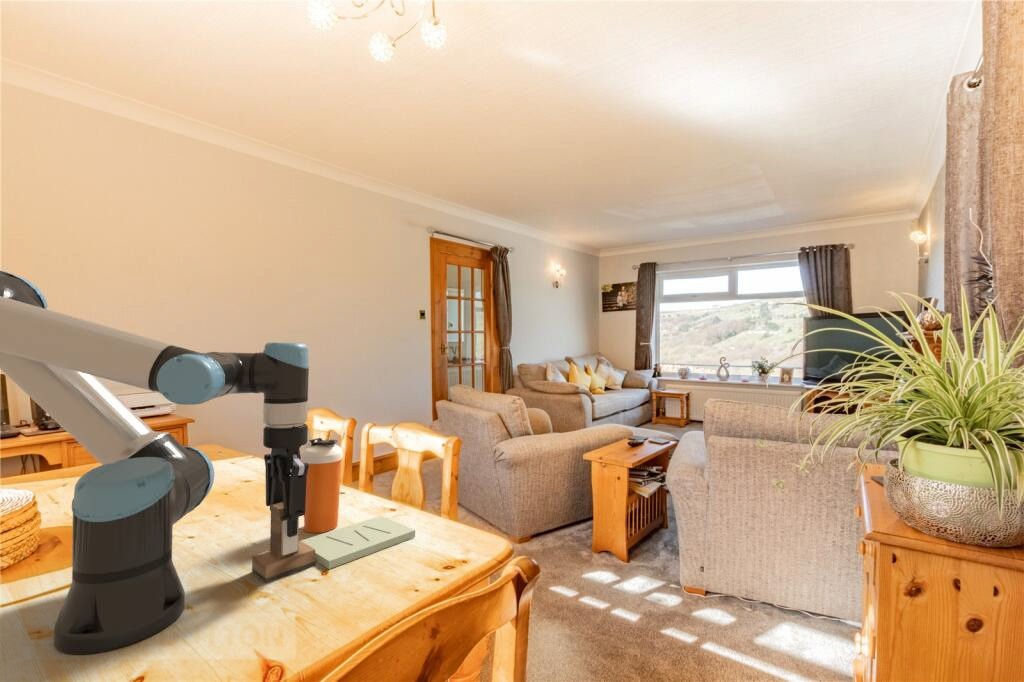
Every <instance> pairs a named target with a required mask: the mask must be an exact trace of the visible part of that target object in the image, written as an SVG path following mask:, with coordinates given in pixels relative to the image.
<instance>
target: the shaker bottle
mask: <svg viewBox="0 0 1024 682" xmlns="http://www.w3.org/2000/svg"><path fill="white" fill-rule="evenodd" d="M336 443H338V440H337V439H323V438H322V437H317V438H312V439H310V440H308V441H307V443H306V444H305V445H303V446H304V449H303V450H302V451H301V452H300V455H301V462H302V463H308V465H309V468H308V472H307V479H306V504H305V515H303V523H304V527H303V528H304V531H306V532H307V533H310V534H311V533H312V534H319V533H321V534H323V533H327V532H330V531H333V530H335V529H336V528H337V527H338V524H339V523H338V521H339V520H338V519H339V503H340V491H341V489H340V488H341V472H342V459H343V458H344V457H343V449H342V448H341V447H340V446H339V445H337V444H336Z"/></svg>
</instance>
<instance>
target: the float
mask: <svg viewBox="0 0 1024 682" xmlns="http://www.w3.org/2000/svg"><path fill="white" fill-rule="evenodd" d="M281 517H284V504H283V502H280V503H276V504H272V505H271V511H270V530H269V531H270V536H269V537H270V539H269V540H270V542H269V545H270V546H269V550H266V551H263V552H260V553H257V554H254V555H252V556H251V573H253V574H254V576H256V577H257V578H259V580H261V581H262V582H263V583H265V584H267V583H270V582H272V581H275V580H278V579H281V578H283V577H286V576H289V575H292V574H296V573H298V572H300V571H302V570H303V571H304V570H306V569H308V568H311V567H314V566H316V561H315V549H313V548H312V547H310V546H308V545H307V544H305V543H303V542H302V541H301V540H298V551H296V552H293V553H290V554H287V555H284V556H283V555H281V535H282V521H281V519H280V518H281ZM299 518H300V517H298V533H299V531H300V530H299V525H300V523H299V520H300V519H299Z"/></svg>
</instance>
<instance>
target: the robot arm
mask: <svg viewBox="0 0 1024 682" xmlns="http://www.w3.org/2000/svg"><path fill="white" fill-rule="evenodd" d="M47 307H49V305H48V301H47V299H46V297H45V295H44V293H43V292H42V291H41V289H40V288H38V287H37V285H35V284H33V283H32V282H30V281H29V280H28V279H26V278H23V277H21V276H18V275H15V274H13V273H9V272H7V271H5V270H0V370H1V371H2V372H3V373H4V374H5V375H6V376H7V377H8V378H10V380H11V381H12V382H14V383H15V384H16V385H17V387H19V388H20V389H21V390H22V391H23V392H24V393H25V394H27V396H28V397H29V398H31V399H32V400H33V401H34V402H35V403H36V405H38V406H39V407H40V408H41V409H42V410H43V411H44V412H45V413H46V414H47V415H49V416H50V417H51V418H52V419H53V420H54V421H55V422H56V423H57V424H58V425H59V426H60V427H61V428H63V430H64V431H65V432H67V433H68V434H69V435H70V436H71V437H72V438H73V439H74V441H76V442H78V444H79V445H81V447H82V448H83V449H85V450H86V451H87V452H88V453H89V454H90V455H91V456H92V457H93V458H94V459H95V460H96V461H98V463H99V464H101V465H100V466H96V467H95V468H93V469H91V470H89V471H87V472H85V473H84V474H83V475H82V476H80V478H78V480H77V481H76V483H75V485H74V492H73V494H74V495H73V498H72V500H71V511H72V553H71V554H72V555H71V556H72V557H71V560H72V561H71V563H72V564H71V567H72V570H71V571H72V574H71V575H72V576H71V577H72V578H71V585H70V587H69V590H68V592H67V594H66V596H65V599H64V602H63V604H62V607H61V609H60V612H59V614H58V617H57V619H56V622H55V624H54V629H53V646H54V647H55V648H56V649H57V650H58V651H60V652H62V653H65V654H75V655H81V654H82V655H86V654H93V653H94V654H95V653H101V652H106V651H111V650H114V649H119V648H122V647H125V646H129V645H132V644H134V643H137V642H139V641H142V640H144V639H146V638H149V637H151V636H153V635H155V634H157V633H158V632H161V631H162V630H165V628H167V627H169V626H170V625H171V624H173V623H174V622H175V621H177V620H178V618H180V616H181V615H182V614H183V613H184V611H185V604H186V603H185V601H186V600H185V599H186V597H185V595H186V594H185V589H184V586H183V584H182V582H181V578H180V577H179V574H178V572H177V570H176V567H175V565H174V562H173V526H174V525H175V524H176V523H177V522H179V521H180V520H181V519H182V518H183V517H185V516H186V515H188V514H189V513H191V512H192V511H194V510H195V509H196V508H197V507H199V505H201V504H202V502H203V501H204V499H205V498H206V497H207V496H208V495H209V493H210V492H211V489H212V487H213V485H214V482H215V470H214V469H215V468H214V466H213V463H212V461H211V459H210V457H209V456H207V454H206V453H204V451H202V450H201V449H198V448H196V447H193V446H186V445H182V443H180V442H179V441H178V439H177V438H175V437H174V436H173V435H172V434H171V433H170V432H167V431H155V430H153V429H152V428H151V427H150V426H149V425H148V424H147V423H146V422H145V421H144V420H142V418H141V417H139V416H138V414H137V413H135V412H134V411H133V409H132V408H130V406H129V405H127V403H125V402H124V401H123V400H122V399H121V397H119V396H118V395H117V394H116V393H115V392H114V391H113V390H112V389H111V388H110V387H109V386H108V385H107V384H106V383H105V382H104V381H102V379H105V380H109V381H113V382H116V383H121V384H125V385H128V386H132V387H136V388H139V389H144V390H146V391H147V390H148V391H151V392H153V393H154V392H155V393H159V394H161V395H162V396H163V397H164V398H165V399H167V400H168V401H170V402H171V403H172V404H177V405H183V406H184V405H185V406H187V405H189V406H190V405H191V406H192V405H201V404H203V403H206V402H209V401H211V400H213V399H214V400H215V399H217V398H220V397H223V396H228V395H231V394H232V395H233V394H263V406H262V407H263V410H262V413H263V418H262V423H263V424H264V425H265V426H264V428H263V431H262V433H263V436H262V437H263V439H262V441H263V442H262V443H263V446H264V447H265V448H266V449H267V448H268V449H270V450H271V452H270V453H267V454H264V455H263V456H264V457H263V460H264V465H265V505H266V507H269V511H270V512H271V505H272V504H276V503H280V502H283V504H284V517H281V518H280V519H281V521H282V535H281V555H283V556H284V555H287V554H290V553H293V552H296V551H298V541H299V532H298V517H299V518H300V517H302V516H303V517H304V515H305V504H306V479H307V472H308V468H309V465H308V463H302V462H301V451H300V450H301V449H300V448H301V447H302V446H304V445H305V444H306V443H307V441H309V440H308V439H309V438H308V437H309V435H308V433H309V428H308V427H309V426H308V425H307V423H306V422H307V421H308V417H309V415H308V414H309V412H308V411H309V409H310V405H309V404H308V403H309V376H310V375H309V370H310V365H309V351H308V348H309V347H308V346H307V345H306V344H305V343H302V342H266V343H265V345H264V348H263V351H261V352H225V351H224V352H219V351H207V352H199V351H194V350H191V349H188V348H184V347H180V346H177V345H176V346H175V345H174V344H170V343H166V342H163V341H159V340H155V339H152V338H149V337H146V336H141V335H138V334H135V333H131V332H129V331H128V332H127V331H124V330H121V329H117V328H114V327H111V326H106V325H102V324H100V323H96V322H92V321H89V320H86V319H82V318H78V317H76V316H75V317H74V316H72V315H68V314H64V313H61V312H58V311H54V310H50V309H47ZM101 378H102V379H101Z"/></svg>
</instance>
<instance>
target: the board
mask: <svg viewBox="0 0 1024 682" xmlns="http://www.w3.org/2000/svg"><path fill="white" fill-rule="evenodd" d="M415 537H416V530H415V529H413V528H411V527H409V526H406V525H403V524H401V523H399V522H397V521H395V520H392V519H390V518H388V517H385V516H383V515H380V516H378V515H377V516H376V517H373V518H369V519H366V520H363V521H360V522H356V523H354V524H350V525H346V526H342V527H340V528H337V529H333V530H330V531H327V532H323V533H321V534H318V535H314V536H311V537H309V538H305V539H301V540H300V541H302V542H303V543H305V544H307V545H308V546H310V547H312V548H313V549H315V562H316V563H319V564H320V565H322V566H323V567H325V568H327V569H328V570H330V569H333V568H336V567H339V566H341V565H344V564H347V563H349V562H352V561H354V560H357V559H360V558H363V557H365V556H367V555H370V554H374V553H377V552H379V551H381V550H385V549H386V548H390V547H392V546H395V545H397V544H401V543H403V542H405V541H409V540H411V539H414V538H415Z"/></svg>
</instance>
